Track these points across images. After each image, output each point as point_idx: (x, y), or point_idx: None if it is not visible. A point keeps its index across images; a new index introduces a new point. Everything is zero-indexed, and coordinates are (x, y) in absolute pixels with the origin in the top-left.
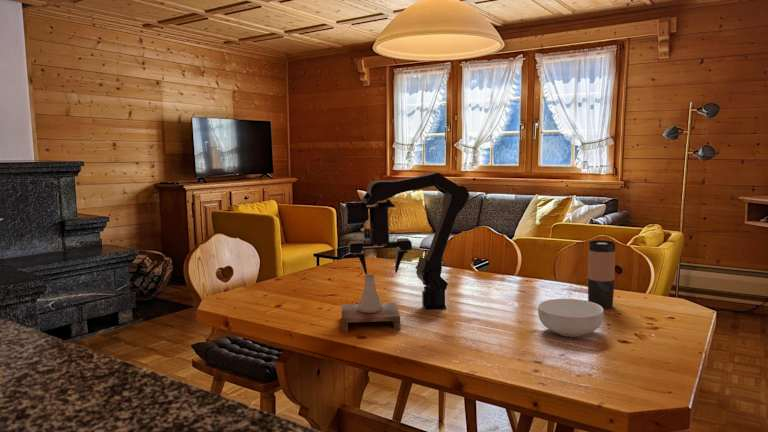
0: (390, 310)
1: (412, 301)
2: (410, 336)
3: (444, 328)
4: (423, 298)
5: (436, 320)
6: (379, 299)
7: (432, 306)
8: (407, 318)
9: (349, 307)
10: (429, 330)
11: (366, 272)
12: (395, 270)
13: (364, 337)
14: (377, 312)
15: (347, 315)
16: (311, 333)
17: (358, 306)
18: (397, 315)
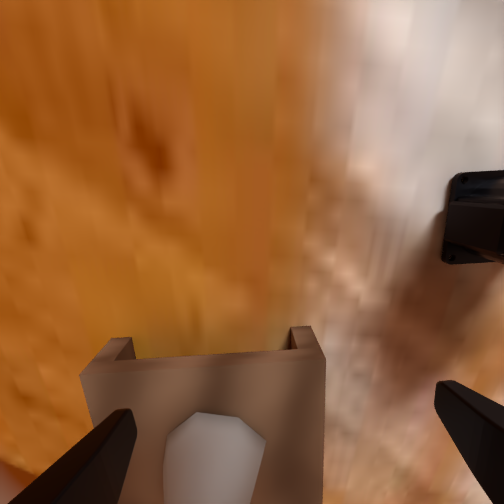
0: (294, 455)
1: (415, 117)
2: (330, 493)
3: (437, 445)
4: (473, 246)
5: (438, 380)
6: (253, 488)
7: (477, 255)
8: (347, 357)
9: None
10: (391, 458)
11: (126, 465)
12: (452, 429)
13: None
14: None
15: (134, 498)
16: None
17: (163, 483)
18: (314, 502)
